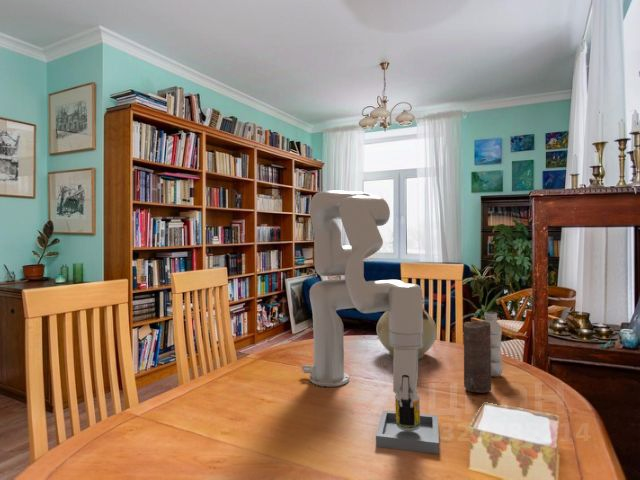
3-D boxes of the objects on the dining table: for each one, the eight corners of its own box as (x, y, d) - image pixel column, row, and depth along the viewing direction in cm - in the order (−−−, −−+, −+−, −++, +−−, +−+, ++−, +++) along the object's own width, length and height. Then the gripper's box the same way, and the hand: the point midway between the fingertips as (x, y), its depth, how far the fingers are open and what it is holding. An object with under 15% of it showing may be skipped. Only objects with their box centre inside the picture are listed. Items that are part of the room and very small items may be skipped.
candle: (494, 397, 108) (492, 325, 108) (466, 396, 110) (464, 324, 110) (488, 387, 116) (486, 319, 116) (462, 385, 117) (460, 319, 117)
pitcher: (400, 343, 165) (398, 284, 164) (452, 355, 147) (450, 289, 147) (365, 356, 150) (363, 290, 149) (418, 370, 132) (416, 297, 132)
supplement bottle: (420, 422, 91) (420, 380, 91) (419, 433, 86) (418, 389, 86) (397, 419, 92) (396, 378, 92) (394, 430, 87) (393, 386, 87)
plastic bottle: (481, 377, 124) (480, 314, 124) (481, 370, 130) (479, 310, 130) (503, 380, 121) (502, 315, 121) (502, 372, 128) (501, 311, 128)
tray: (376, 446, 84) (375, 435, 84) (382, 419, 97) (382, 410, 97) (439, 454, 81) (439, 443, 81) (437, 425, 93) (437, 415, 93)
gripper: (392, 329, 98) (394, 401, 98) (385, 347, 82) (387, 434, 82) (423, 330, 96) (425, 404, 96) (422, 350, 80) (424, 439, 80)
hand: (407, 417), depth 89 cm, fingers closed on supplement bottle, 5 cm apart
